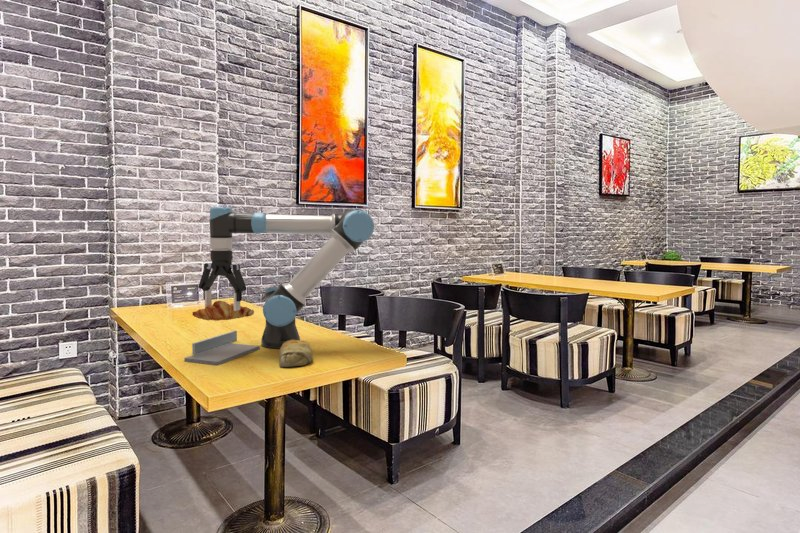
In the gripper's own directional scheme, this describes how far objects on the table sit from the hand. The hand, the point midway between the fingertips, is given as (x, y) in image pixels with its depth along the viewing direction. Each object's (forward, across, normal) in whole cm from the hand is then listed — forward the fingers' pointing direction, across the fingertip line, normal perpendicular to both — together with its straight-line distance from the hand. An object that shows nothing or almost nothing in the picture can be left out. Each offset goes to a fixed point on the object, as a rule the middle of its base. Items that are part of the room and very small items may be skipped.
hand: (222, 309), depth 180 cm
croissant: (+4, 0, 0) cm, 4 cm away
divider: (+17, +11, -9) cm, 22 cm away
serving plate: (+17, 0, 0) cm, 17 cm away
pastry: (+17, -30, 0) cm, 34 cm away
